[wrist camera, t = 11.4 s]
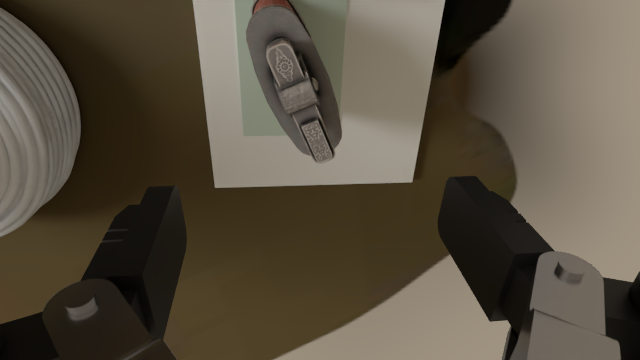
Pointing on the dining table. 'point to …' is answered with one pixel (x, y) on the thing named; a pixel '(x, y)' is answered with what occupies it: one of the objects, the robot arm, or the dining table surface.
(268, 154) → the board
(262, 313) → the dining table surface
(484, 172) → the dining table surface
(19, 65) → the cable
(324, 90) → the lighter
